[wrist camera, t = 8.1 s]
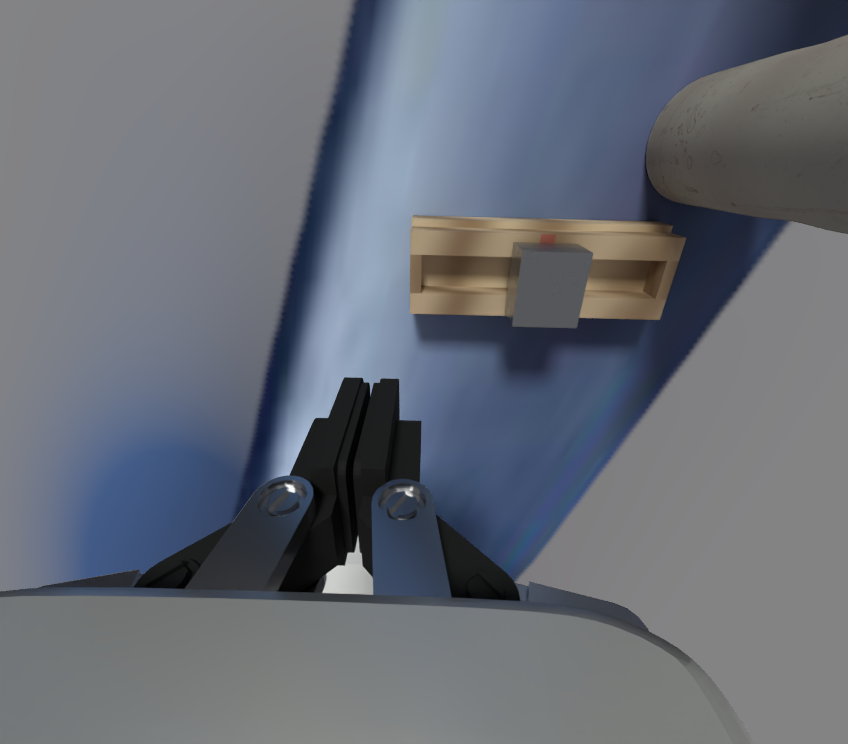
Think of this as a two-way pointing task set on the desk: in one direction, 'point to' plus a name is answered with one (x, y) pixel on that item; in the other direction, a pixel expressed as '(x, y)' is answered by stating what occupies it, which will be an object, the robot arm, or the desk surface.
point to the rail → (493, 242)
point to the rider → (547, 284)
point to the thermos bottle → (761, 139)
